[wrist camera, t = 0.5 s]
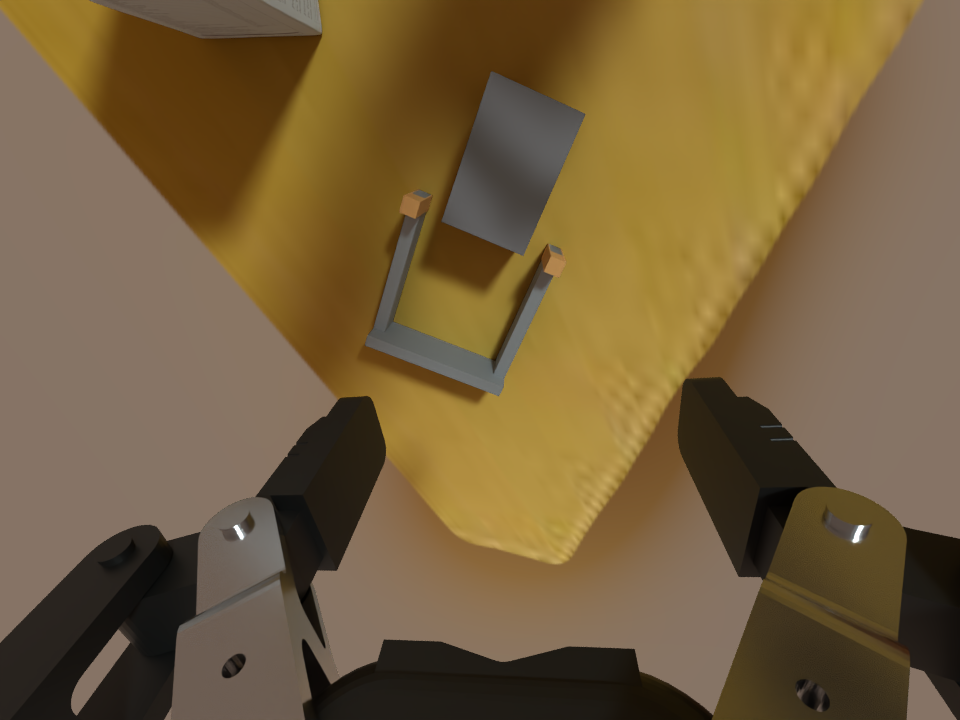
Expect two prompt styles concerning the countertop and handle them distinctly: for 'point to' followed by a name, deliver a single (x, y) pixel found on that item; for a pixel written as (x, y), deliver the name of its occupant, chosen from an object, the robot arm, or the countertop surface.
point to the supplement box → (227, 16)
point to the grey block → (510, 163)
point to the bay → (436, 351)
